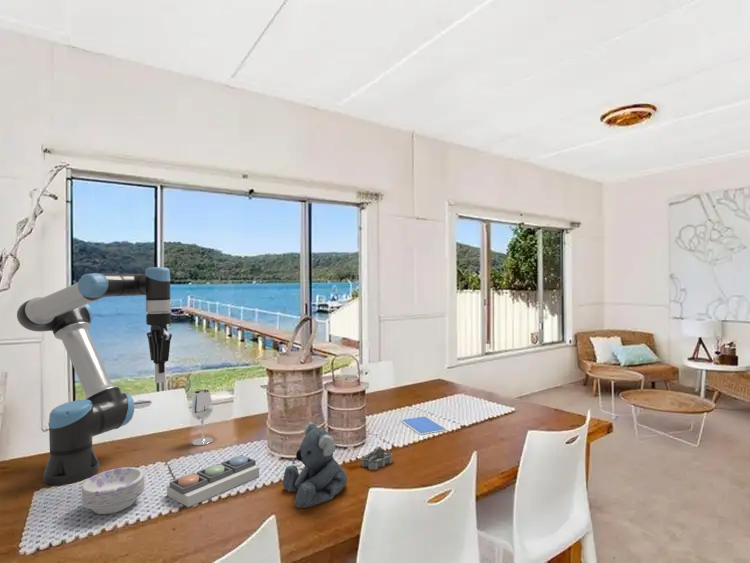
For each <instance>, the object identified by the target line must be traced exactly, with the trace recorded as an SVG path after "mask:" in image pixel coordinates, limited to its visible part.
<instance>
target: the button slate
mask: <svg viewBox="0 0 750 563" xmlns="http://www.w3.org/2000/svg"><path fill="white" fill-rule="evenodd" d="M247 457H248V456H244V455H243V456H241V455H238V456H237V455H236V456H234V457H232V458H230V459H228V460H229V463H230V465H231V466H234V467H238V466H240V465H243V464H246V463H248V458H249V457H248V458H247Z"/></svg>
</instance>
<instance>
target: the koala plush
mask: <svg viewBox="0 0 750 563" xmlns="http://www.w3.org/2000/svg"><path fill="white" fill-rule="evenodd" d="M303 431H304V433H303V434H304V437H303V439H302V441H301V444H300V446H299V448H298V450H297V451H296V454H295V459H297V461H299V462H301V463H302V464H303V465H304V467H303V468H302V469H301V471H300V473H299V469H298V467H297V466H296V465H295V464H291V465H287V466H285V469H284V473H283V479H282V486H283V488H284V489H285V491H287V492H288V493H296V496H295V498H294V504H295V506H296V507H297V508H298V509H300V508H302V509H306V508H312V507H314V506H318V505H319V504H322V503H323V502H330V501H331V500H333V499H334V498H335V496H337V495H338V494H339V493H340V492H342V491H343V489H344V488H345V487H346V485H347V482H348V477H347V474H346V471H345V469H344V468H343V466H341V465H340V463H339V462H337V461H336V459H334V452H335V451H336V443H335V439H334V436H332V435H330V434H329V432H327V431H326V430H325V429H323V428H318V426H317V425H316V424H315V423H313V422H312V421H309V422H308V423H306V424H305V425H304V429H303Z"/></svg>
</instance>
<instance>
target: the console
mask: <svg viewBox="0 0 750 563" xmlns="http://www.w3.org/2000/svg"><path fill="white" fill-rule="evenodd" d="M240 456H244V455H242V454H241V455H240ZM246 457H247V458H248V463H246V464H243V465H240V466H238V467H234V466H231V465H230V463H229V460H230V459H228V460H224V461H222V462H221V463H217V464H216V465H223V466H224V472H223V473H220V474H218V475H215V476H213V477H210V476H208V475H205V469H206V468H204V469H201V470H198V471H196V473H194V472H192V474H195V475H198V476H199V482H198V483H195V484H193V485H190V486H188V487H185V488H183V487H181V486H179V485H178V479H179V478H177V479H174V480H172V481H170V482H169V483H168V484H167V485H166V495H167V496H168V497H170V498H171V499H173V500H175V501H177V502H179V503H180V504H181V505H183V506H185V507H187V508H190V507H192V506H194V505H197V504H199V503H201V502H204V501H205V500H206V501H207V500H208V499H210V498H212V497H215V496H217V495H219V494H222V493H225V492H226V491H228V490H231V489H233V488H235V487H237V486H240V485H242V484H245V483H247V482H249V481H252V480H254V479H257V478H259V477H260V466H258V465H256V464H257V462H256V460H255V459H253V458H250V457H248V456H246Z"/></svg>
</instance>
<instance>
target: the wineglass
mask: <svg viewBox="0 0 750 563" xmlns="http://www.w3.org/2000/svg"><path fill="white" fill-rule="evenodd" d="M190 410H191V415H192V417H193V418H194V419H195V420H197V421H200V424H201V437H200V438H197V439H195V440H193V441H192V445H193V446H205V445H208V444H211V443H213V441H214V439H213V438H211V437H205V435H204V434H205V432H204V422H205V421H206V420H207V419H208V418H210V416H211V415H212V413H213V402H212V397H211V393H210V390H209V389H199V390H196V391H194V392H193V396H192V403H191V409H190Z"/></svg>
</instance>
